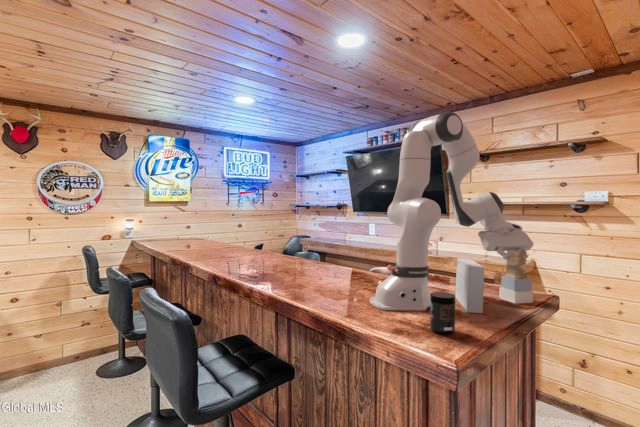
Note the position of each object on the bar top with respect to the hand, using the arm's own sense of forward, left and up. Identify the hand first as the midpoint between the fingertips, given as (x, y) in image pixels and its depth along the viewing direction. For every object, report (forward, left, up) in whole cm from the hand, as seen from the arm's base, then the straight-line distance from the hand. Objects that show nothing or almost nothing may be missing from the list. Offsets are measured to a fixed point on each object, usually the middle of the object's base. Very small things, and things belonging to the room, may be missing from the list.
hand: (516, 258), depth 129 cm
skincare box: (-22, -2, -17) cm, 28 cm away
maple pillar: (0, +1, -7) cm, 8 cm away
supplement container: (-46, -25, -17) cm, 55 cm away
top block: (0, 0, -12) cm, 12 cm away
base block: (0, 0, -17) cm, 17 cm away
